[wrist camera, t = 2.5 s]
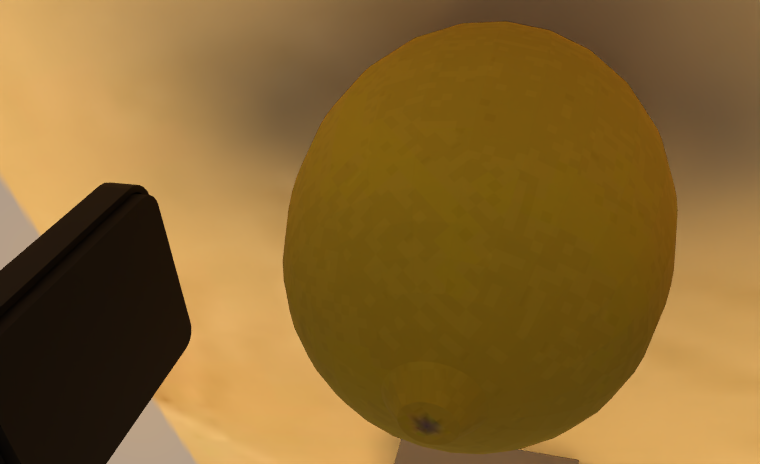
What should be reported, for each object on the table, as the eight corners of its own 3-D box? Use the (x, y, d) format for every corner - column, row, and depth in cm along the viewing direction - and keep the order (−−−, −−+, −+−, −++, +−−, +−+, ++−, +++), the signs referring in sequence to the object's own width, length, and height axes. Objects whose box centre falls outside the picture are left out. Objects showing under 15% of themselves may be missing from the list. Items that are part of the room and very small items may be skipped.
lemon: (720, 34, 12) (862, 375, 5) (569, 259, 15) (550, 627, 9) (423, -88, 12) (225, 109, 5) (341, 164, 15) (160, 462, 9)
